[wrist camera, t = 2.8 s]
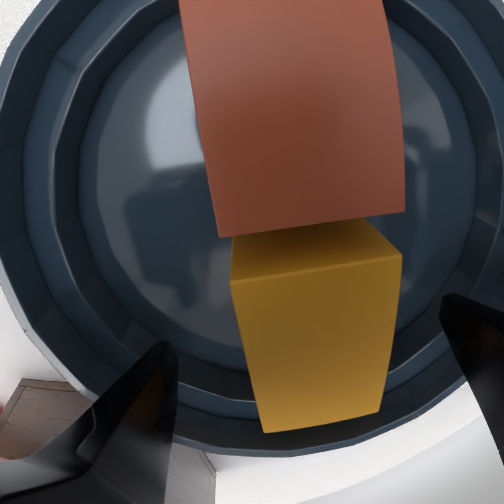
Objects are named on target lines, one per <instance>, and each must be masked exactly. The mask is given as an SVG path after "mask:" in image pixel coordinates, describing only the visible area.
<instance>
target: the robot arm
mask: <svg viewBox="0 0 504 504" xmlns="http://www.w3.org/2000/svg"><path fill="white" fill-rule="evenodd" d="M439 321H440V324H441V326H442V328H443V330H444V333H445V335H446V337H447V340H448V342H449V345H450V347H451V349H452V352H453V354H454V356H455V358H456V360H457V362H458V364H459V366H460V368H461V370H462V372H463V374H464V375H465V377H466V379H467V381H468V383H469V385H470V387H471V390H472V392H473V394H474V396H475V398H476V400H477V402H478V404H479V406H480V409H481V411H482V413H483V415H484V417H485V420H486V422H487V424H488V427H489V429H490V431H491V434H492V436H493V439H494V441H495V443H496V446H497V449H498V450H499V454H500V457H501V459H502V462H503V465H504V312H501V311H499V310H497V309H494V308H492V307H489V306H487V305H484V304H482V303H479V302H477V301H474V300H472V299H469V298H467V297H464V296H462V295H459V294H456V293H449V294H445V295H444V296H443V297H442V301H441V306H440V311H439ZM178 373H179V363H178V359H177V356H176V354H175V351H174V349H173V346H172V344H171V342H170V341H159V342H156V343H155V344H154V345H153V346H152V347H151V348H150V349H149V350H148V351H147V352H146V353H145V354H144V355H143V356H142V357H141V358H140V359H139V360H138V361H137V362H136V363H135V364H134V365H132V366H131V367H130V368H129V369H128V370H127V371H126V372H125V373H124V374H123V375H122V376H121V377H120V378H119V379H118V380H117V381H116V382H115V383H114V384H113V385H112V386H111V387H110V388H109V389H108V390H107V391H106V392H105V393H103V394H102V395H101V396H100V397H99V398H98V399H97V400H96V401H95V402H94V403H93V404H92V405H91V407H89V408H88V409H87V410H86V411H85V412H84V413H83V414H82V415H81V416H79V417H78V418H77V419H76V420H75V421H74V422H73V423H72V424H71V425H69V426H68V427H67V428H66V429H65V430H63V431H62V432H61V433H60V434H58V435H57V436H56V437H55V438H53V439H52V440H51V441H50V442H48V443H47V444H46V445H45V446H43V447H42V448H41V449H39V450H38V451H37V452H35V453H34V454H33V455H31V456H29V457H26V458H23V459H18V460H2V461H0V504H164V502H165V493H166V485H167V477H168V469H169V461H170V454H171V446H172V439H173V432H174V426H175V419H176V412H177V401H178Z"/></svg>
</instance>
